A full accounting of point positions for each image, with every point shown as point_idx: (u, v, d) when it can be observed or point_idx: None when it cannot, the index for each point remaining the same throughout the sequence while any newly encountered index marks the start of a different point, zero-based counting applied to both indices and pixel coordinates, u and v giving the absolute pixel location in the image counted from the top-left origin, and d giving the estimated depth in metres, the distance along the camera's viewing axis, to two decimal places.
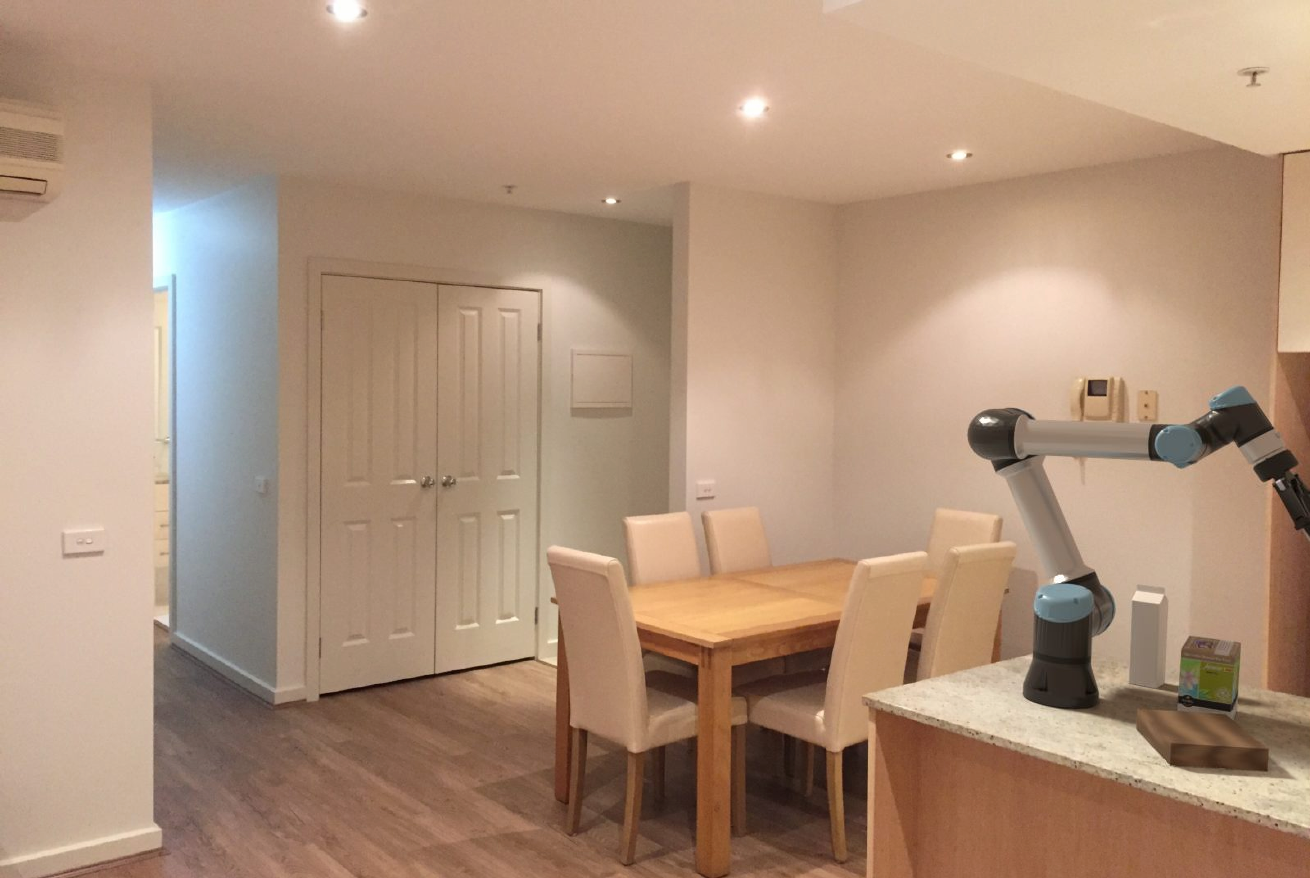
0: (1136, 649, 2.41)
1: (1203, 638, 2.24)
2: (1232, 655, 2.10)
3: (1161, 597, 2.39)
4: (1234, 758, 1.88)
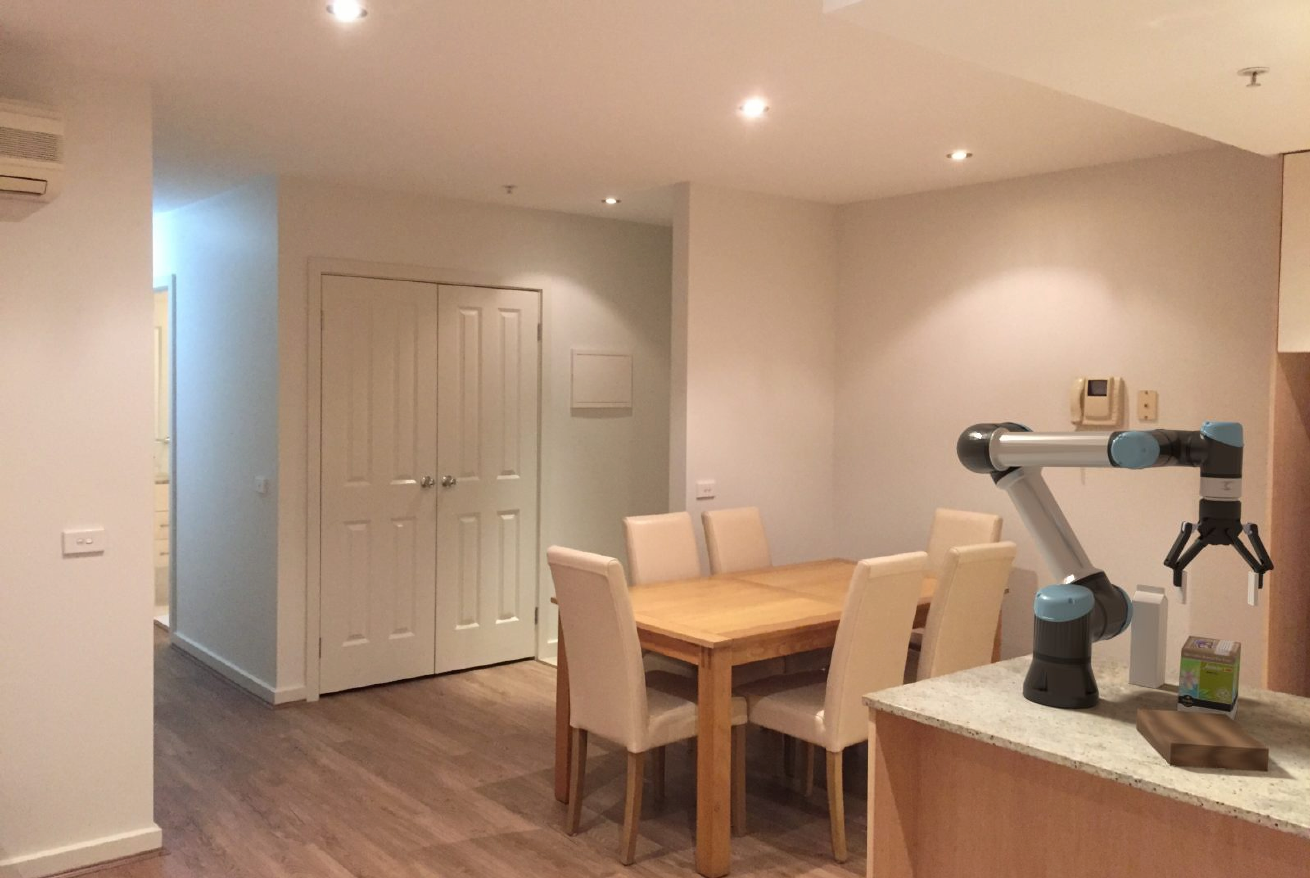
0: (1136, 649, 2.41)
1: (1203, 638, 2.24)
2: (1232, 655, 2.10)
3: (1161, 597, 2.39)
4: (1234, 758, 1.88)
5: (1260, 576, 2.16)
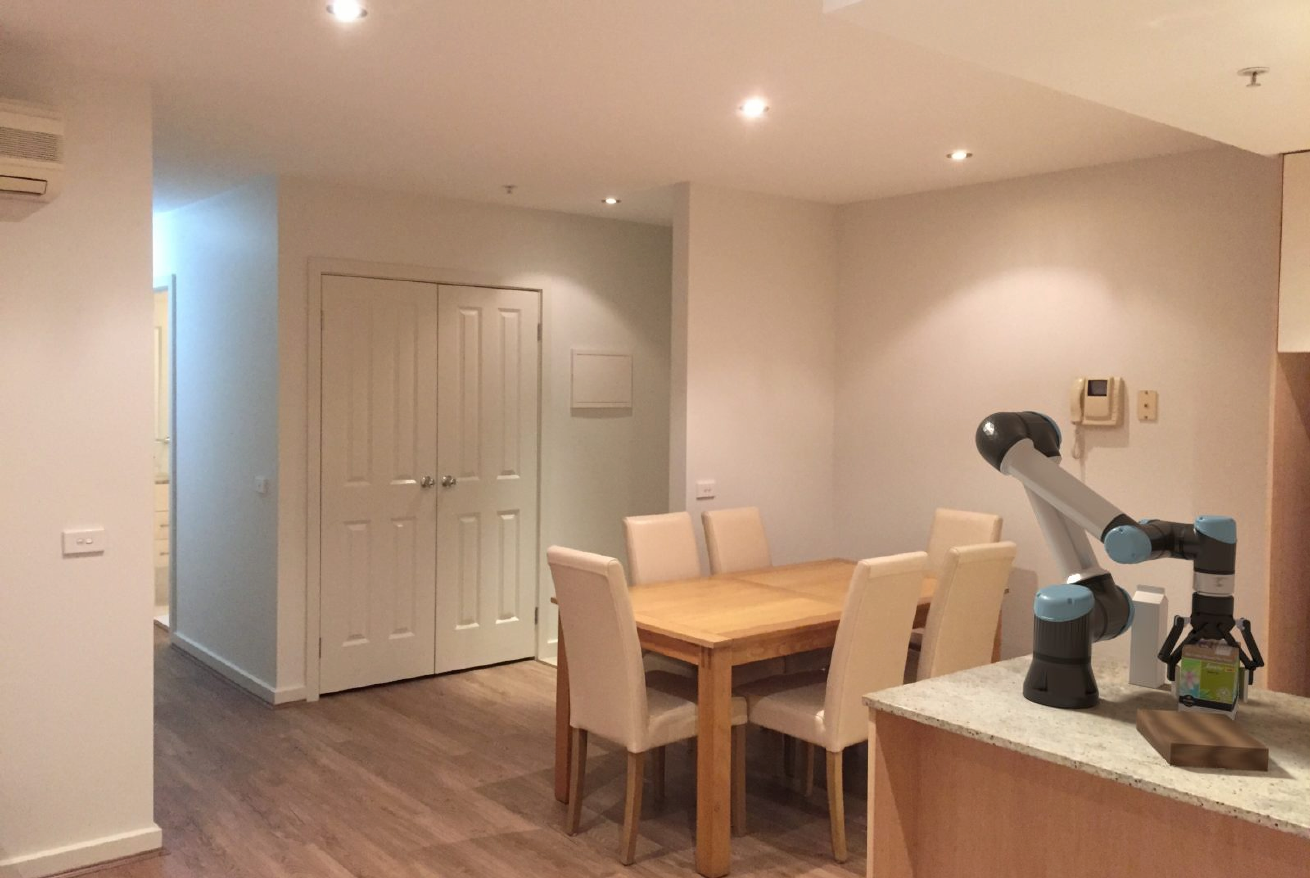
0: (1136, 649, 2.41)
1: None
2: (1233, 655, 2.10)
3: (1161, 597, 2.39)
4: (1234, 758, 1.88)
5: (1250, 672, 2.17)
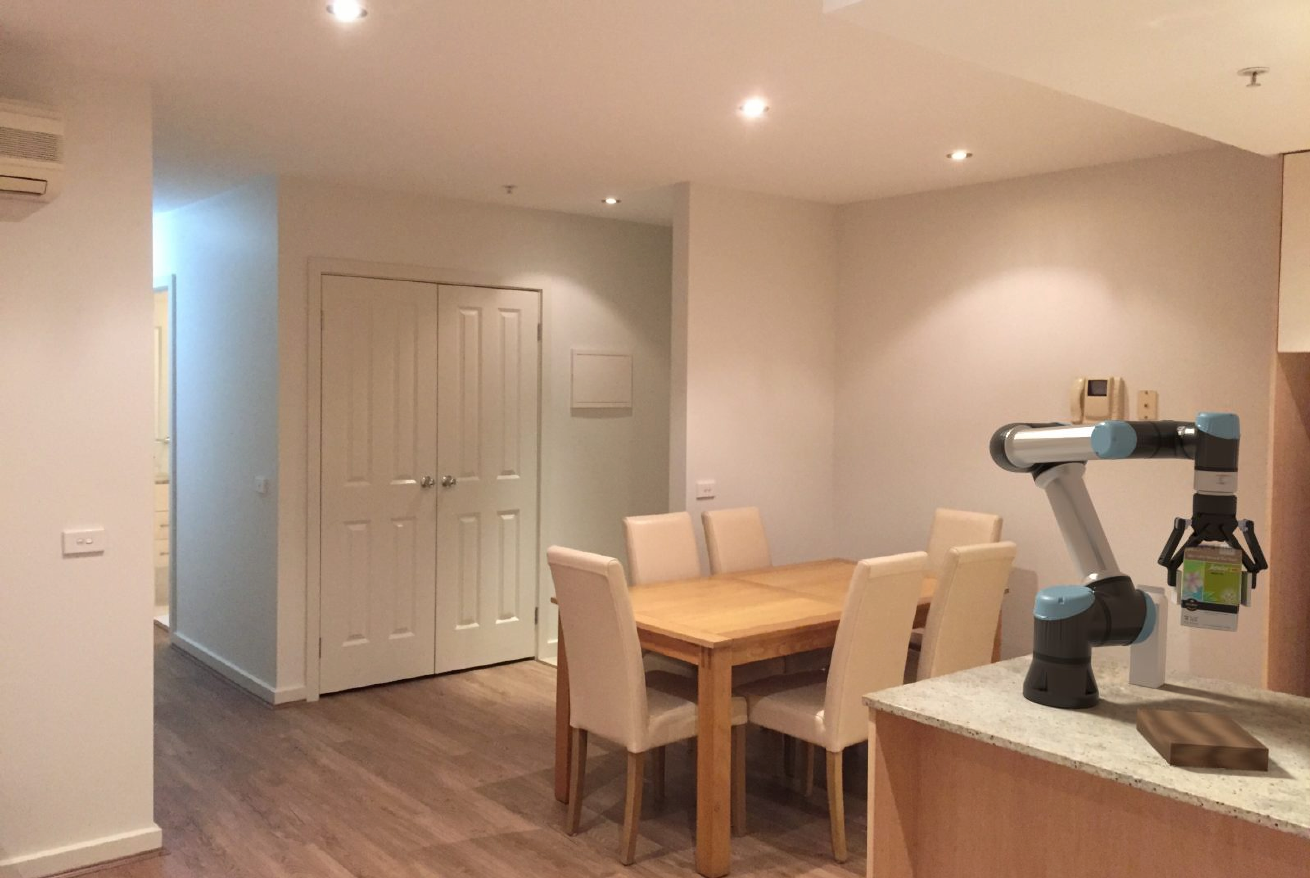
0: (1136, 649, 2.41)
1: (1203, 543, 2.14)
2: (1238, 554, 2.00)
3: (1161, 597, 2.39)
4: (1234, 758, 1.88)
5: (1253, 576, 2.07)
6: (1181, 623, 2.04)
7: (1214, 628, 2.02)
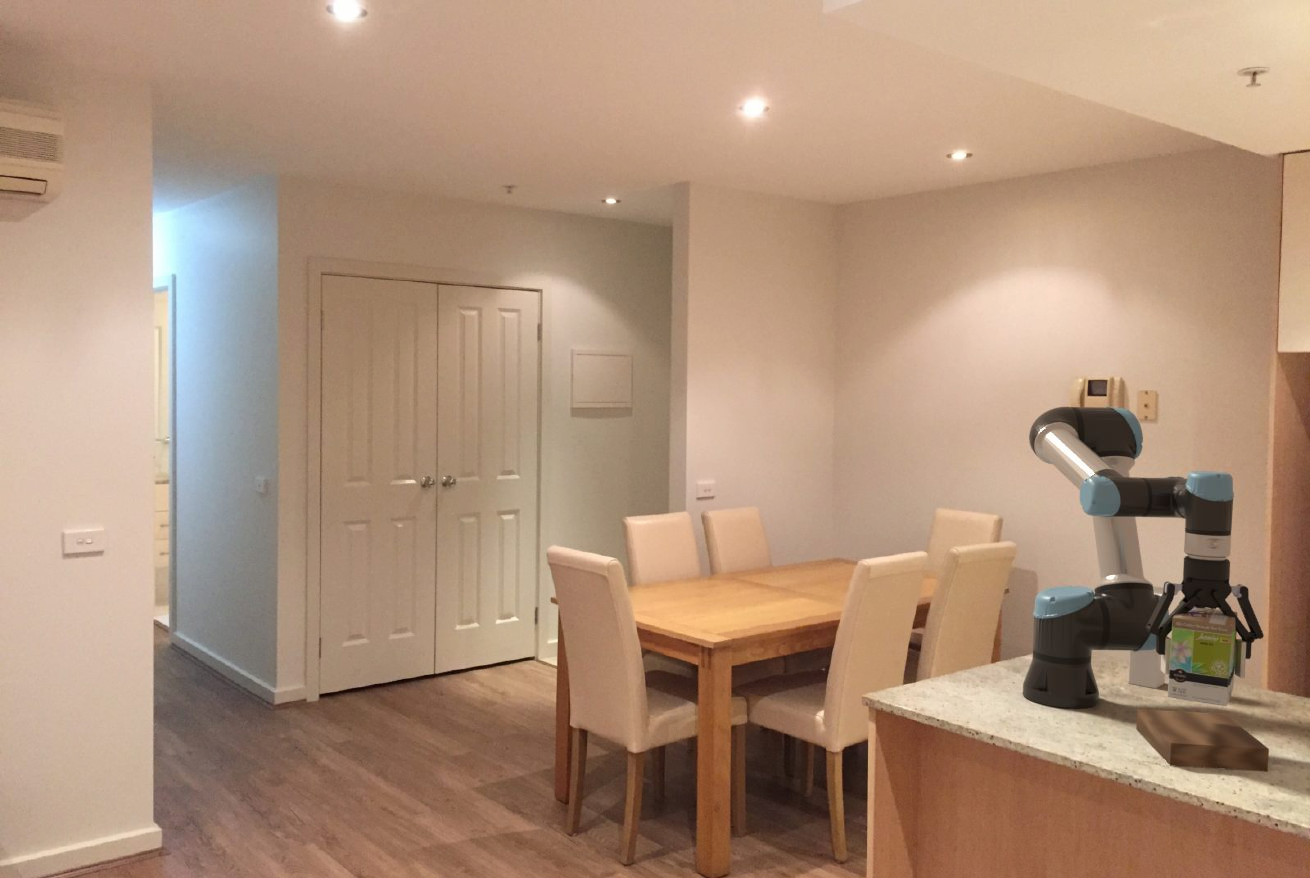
0: None
1: (1196, 608, 2.03)
2: (1229, 624, 1.89)
3: None
4: (1234, 758, 1.88)
5: (1248, 645, 1.96)
6: (1169, 695, 1.94)
7: (1203, 701, 1.91)
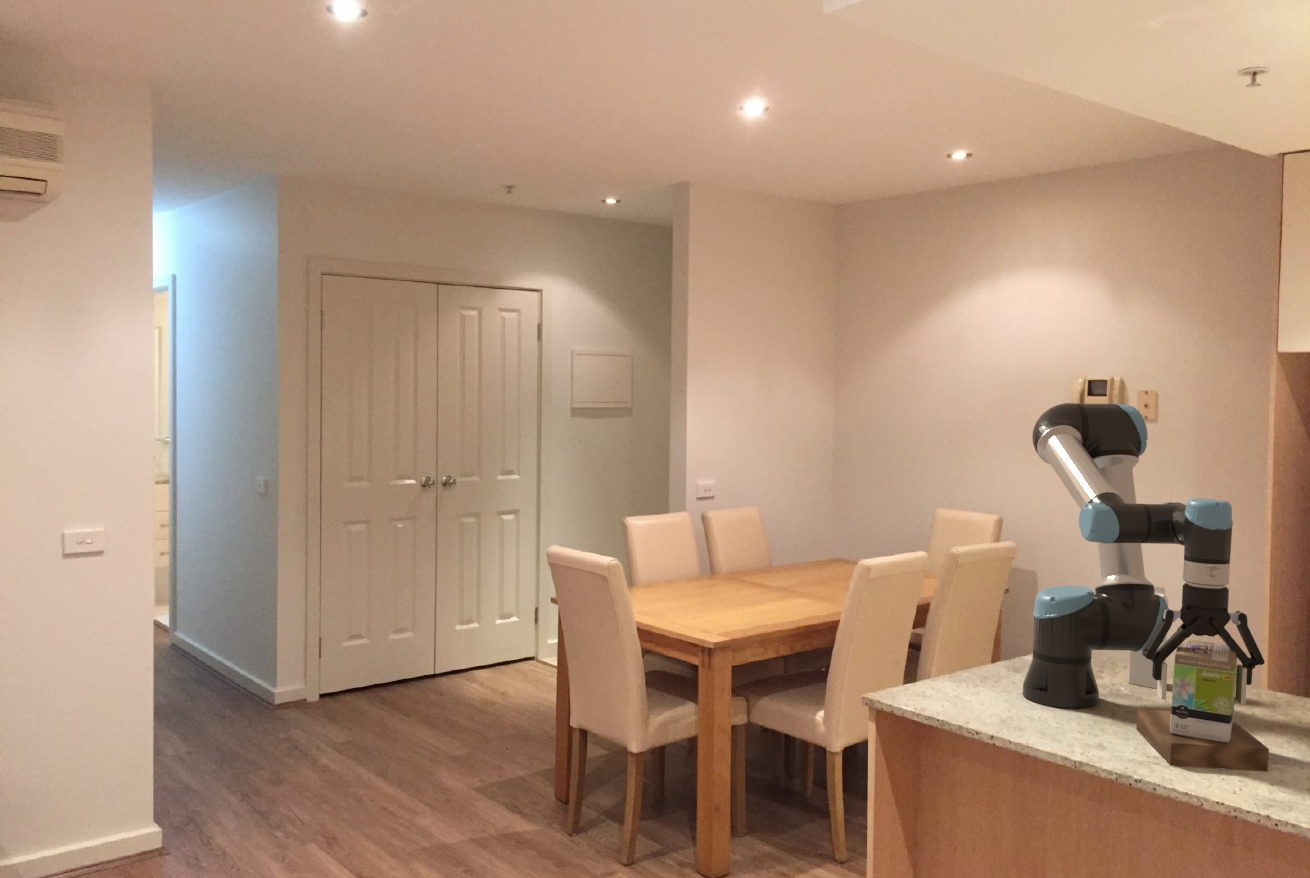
0: None
1: (1196, 641, 2.03)
2: (1232, 661, 1.89)
3: None
4: (1234, 758, 1.88)
5: (1249, 671, 1.96)
6: (1171, 731, 1.94)
7: (1206, 738, 1.91)
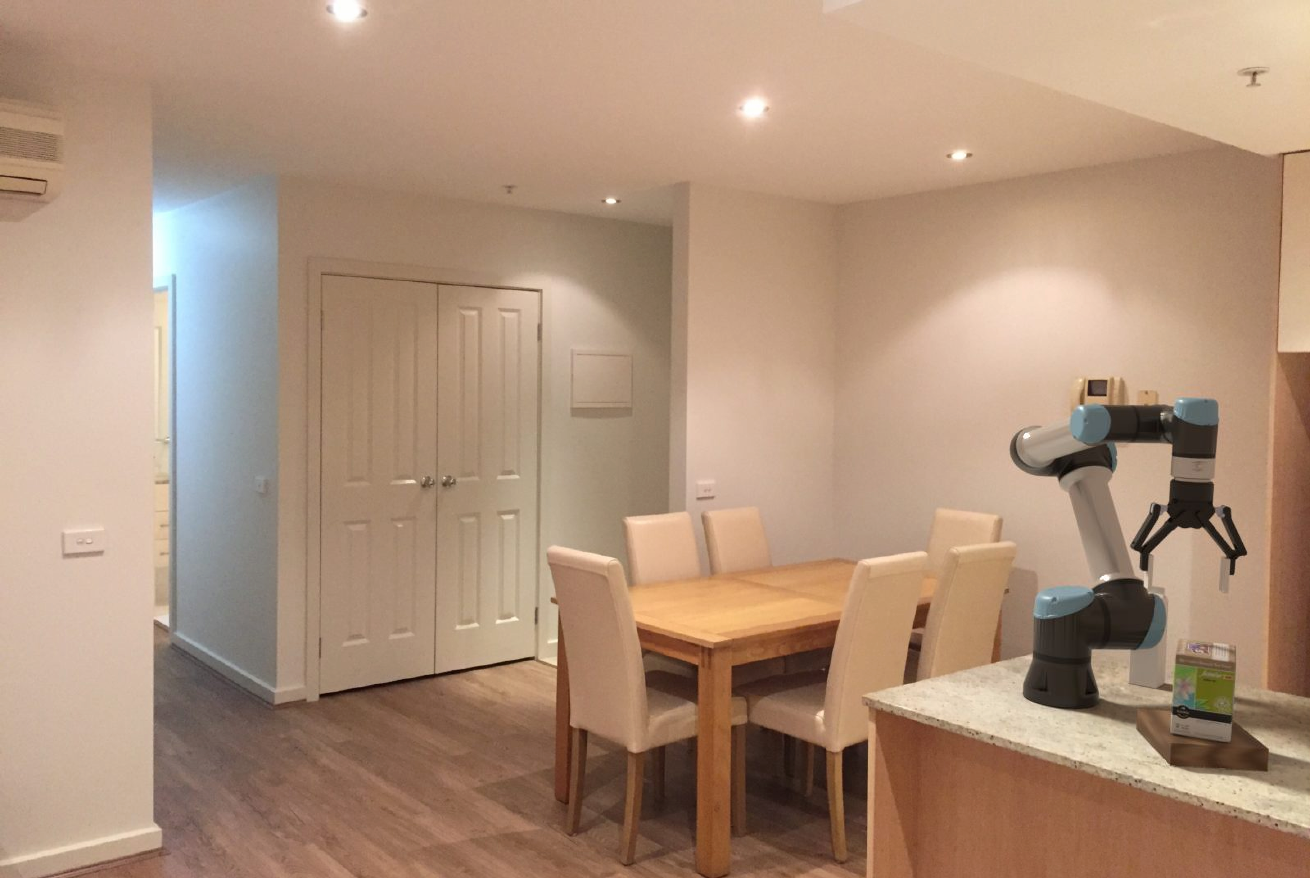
0: None
1: (1195, 641, 2.03)
2: (1232, 661, 1.90)
3: (1161, 597, 2.39)
4: (1234, 758, 1.88)
5: (1232, 562, 2.05)
6: (1172, 731, 1.94)
7: (1206, 738, 1.91)
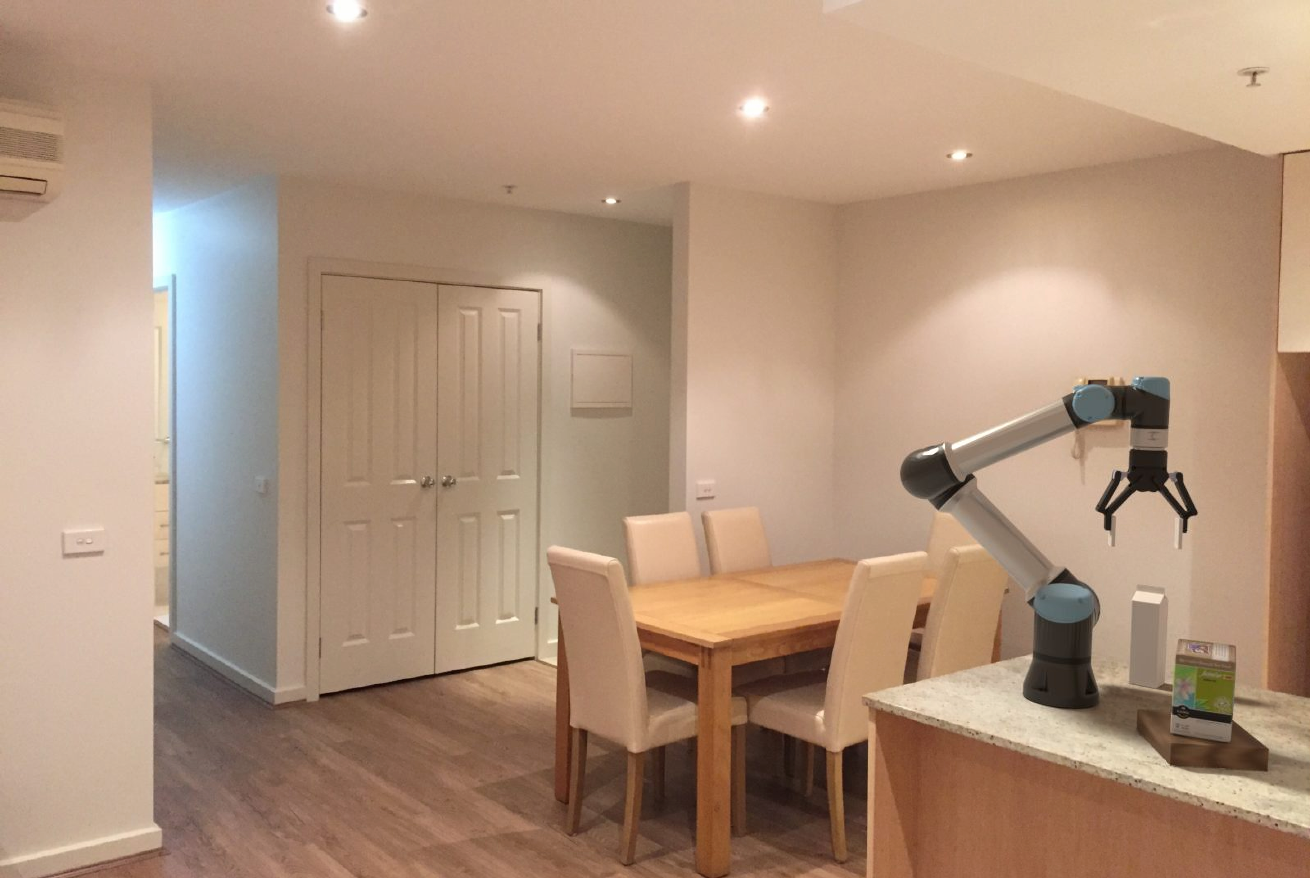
0: (1136, 649, 2.41)
1: (1195, 641, 2.03)
2: (1232, 661, 1.90)
3: (1161, 597, 2.39)
4: (1234, 758, 1.88)
5: (1185, 521, 2.31)
6: (1172, 731, 1.94)
7: (1206, 738, 1.91)
